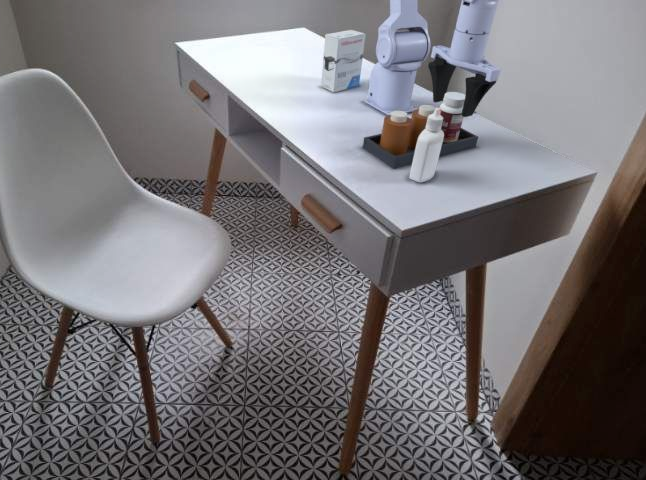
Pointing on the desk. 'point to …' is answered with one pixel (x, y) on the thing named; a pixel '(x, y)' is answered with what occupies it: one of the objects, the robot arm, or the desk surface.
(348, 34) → the ink box
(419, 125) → the amber bottle middle
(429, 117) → the eye dropper bottle
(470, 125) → the desk surface
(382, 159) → the tray
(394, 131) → the amber bottle far
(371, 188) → the desk surface
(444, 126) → the pill bottle
